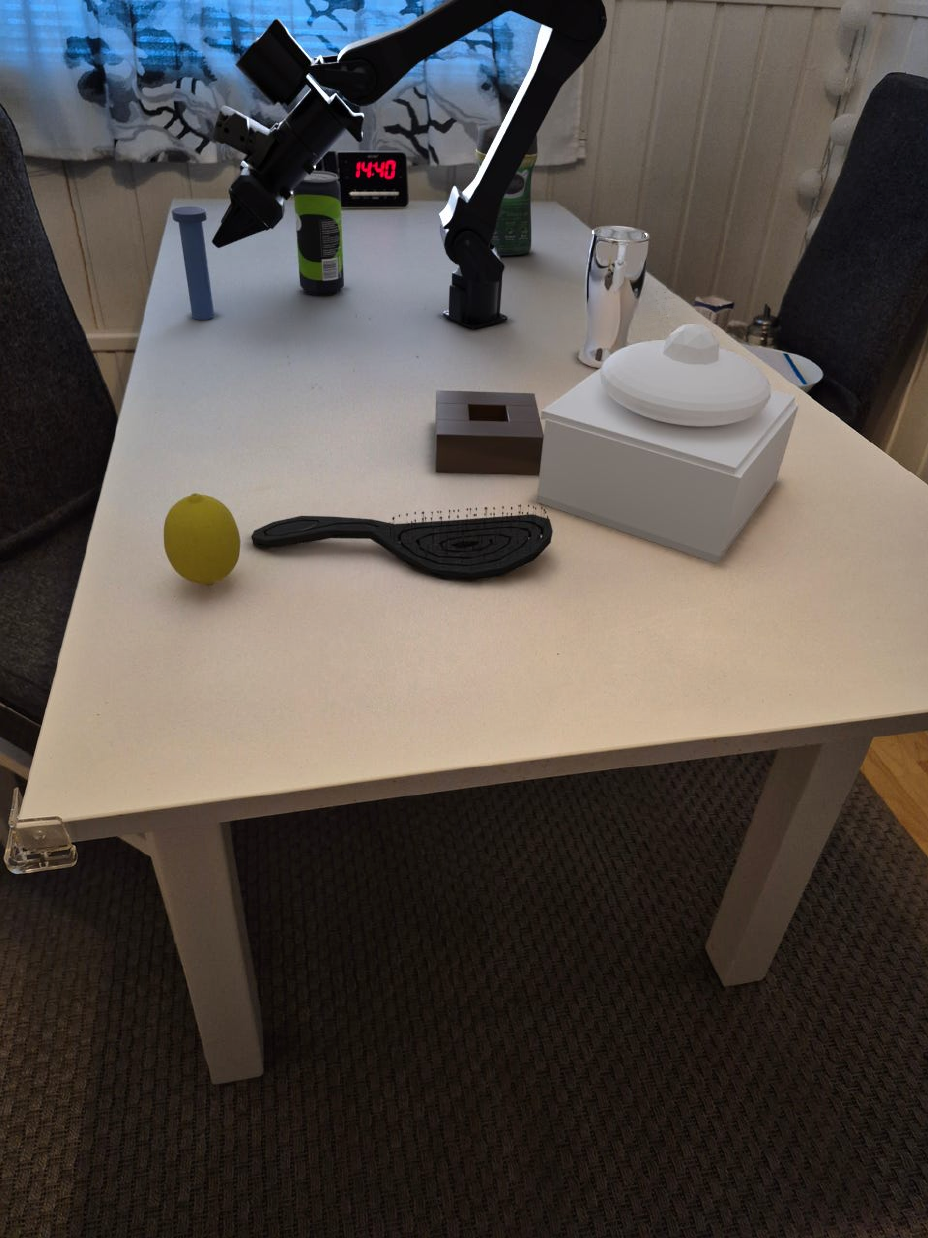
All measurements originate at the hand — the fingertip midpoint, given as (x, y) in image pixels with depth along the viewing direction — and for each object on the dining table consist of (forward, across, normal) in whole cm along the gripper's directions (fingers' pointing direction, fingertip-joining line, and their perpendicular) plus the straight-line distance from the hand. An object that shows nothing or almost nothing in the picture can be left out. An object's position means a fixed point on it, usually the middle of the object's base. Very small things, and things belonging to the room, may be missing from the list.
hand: (219, 234), depth 110 cm
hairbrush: (-7, +56, +22) cm, 61 cm away
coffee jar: (-22, -33, +36) cm, 53 cm away
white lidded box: (-25, +47, +39) cm, 66 cm away
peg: (+10, 0, +5) cm, 11 cm away
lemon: (+4, +61, +11) cm, 62 cm away
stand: (-14, +38, +28) cm, 49 cm away
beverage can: (-1, -11, +16) cm, 20 cm away
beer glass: (-26, +14, +41) cm, 50 cm away
